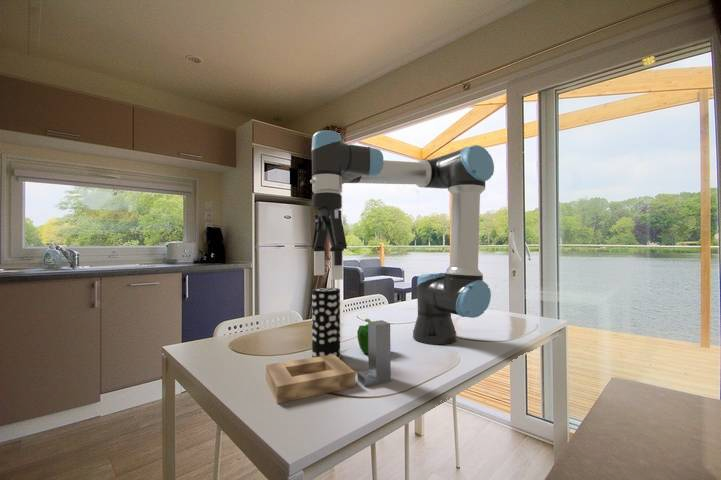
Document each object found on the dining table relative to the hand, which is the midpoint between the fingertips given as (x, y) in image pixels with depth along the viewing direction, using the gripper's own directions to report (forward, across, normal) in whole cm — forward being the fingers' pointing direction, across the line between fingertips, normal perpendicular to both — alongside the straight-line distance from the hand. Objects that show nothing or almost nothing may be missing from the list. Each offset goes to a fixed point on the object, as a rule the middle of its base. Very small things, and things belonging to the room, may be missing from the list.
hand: (327, 277), depth 82 cm
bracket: (+25, +7, +9) cm, 28 cm away
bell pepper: (+25, -13, +18) cm, 34 cm away
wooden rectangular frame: (+25, +2, -5) cm, 26 cm away
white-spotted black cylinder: (+25, -15, +4) cm, 30 cm away
